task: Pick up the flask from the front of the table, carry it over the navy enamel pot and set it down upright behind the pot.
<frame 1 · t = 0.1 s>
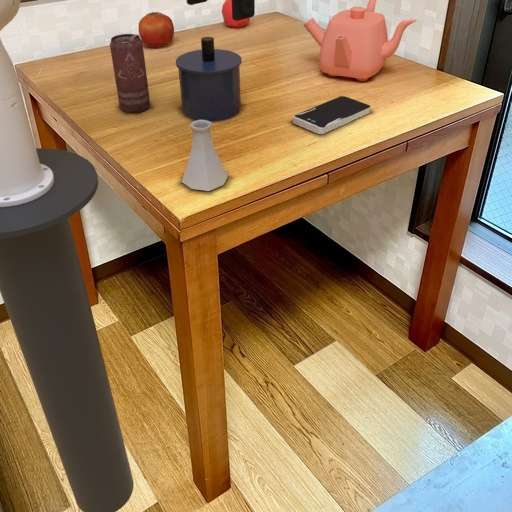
hand: (219, 10, 78), 28 cm above the table, tool pointing down, fingers open, 9 cm apart
tomato: (158, 45, 152), on the table
can: (135, 108, 121), on the table
teapot: (354, 71, 136), on the table
pot lid: (208, 62, 114), point 9 cm above the table, touching pot
pot: (211, 109, 120), on the table
smartphone: (331, 118, 116), on the table
flask: (205, 181, 98), on the table
apple: (236, 26, 164), on the table
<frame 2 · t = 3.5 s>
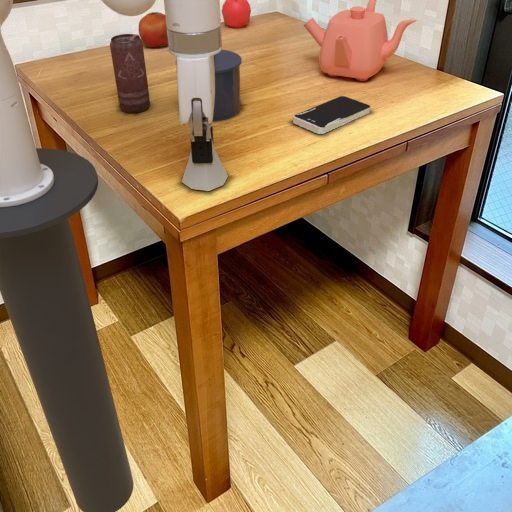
hand: (203, 155, 95), 5 cm above the table, tool pointing down, fingers closed on flask, 3 cm apart
flask: (205, 181, 98), on the table, touching gripper
everything else where it was.
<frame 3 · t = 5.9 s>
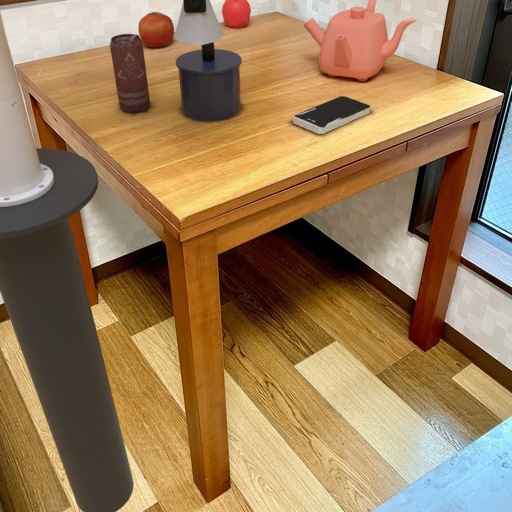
hand: (196, 6, 88), 25 cm above the table, tool pointing down, fingers closed on flask, 3 cm apart
flask: (199, 40, 91), point 20 cm above the table, touching gripper
everything else where it was.
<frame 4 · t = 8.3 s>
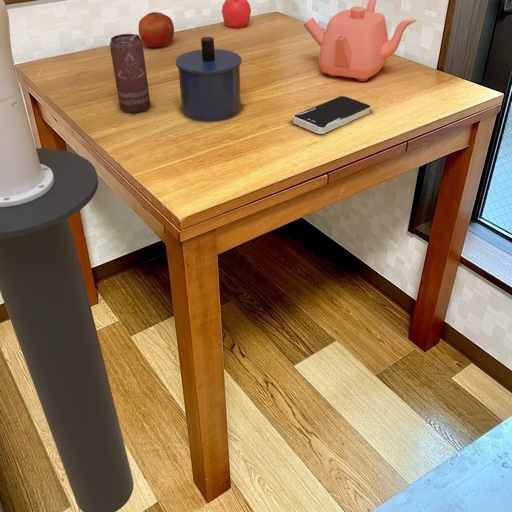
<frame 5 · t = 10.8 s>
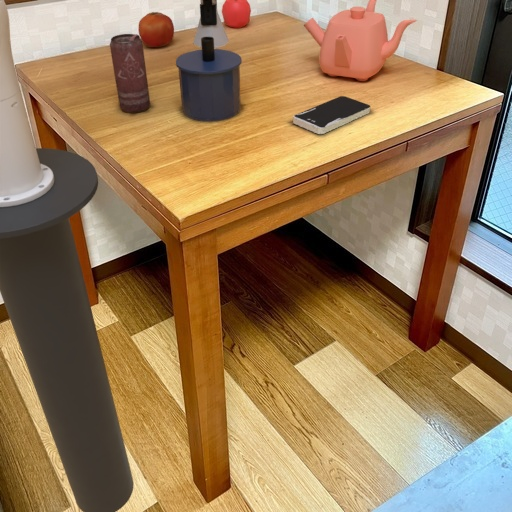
hand: (209, 21, 122), 14 cm above the table, tool pointing down, fingers closed on flask, 3 cm apart
flask: (211, 44, 125), point 9 cm above the table, touching gripper
everything else where it was.
when the fingers open (5 cm above the table, at t = 13.1 s): flask stays where it is, on the table.
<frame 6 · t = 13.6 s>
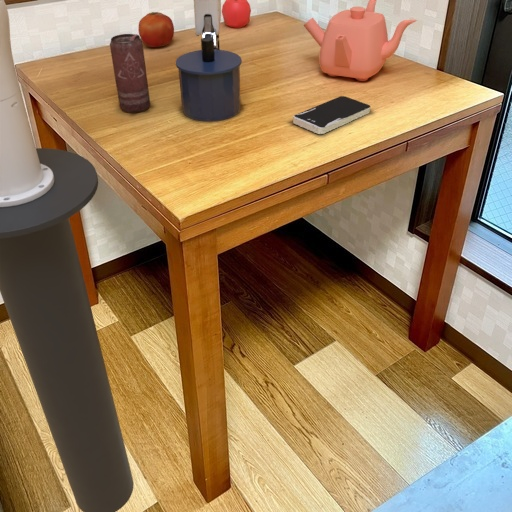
hand: (211, 60, 127), 6 cm above the table, tool pointing down, fingers open, 8 cm apart
pot lid: (208, 62, 114), point 10 cm above the table, touching gripper
flask: (213, 86, 130), on the table
everything else where it was.
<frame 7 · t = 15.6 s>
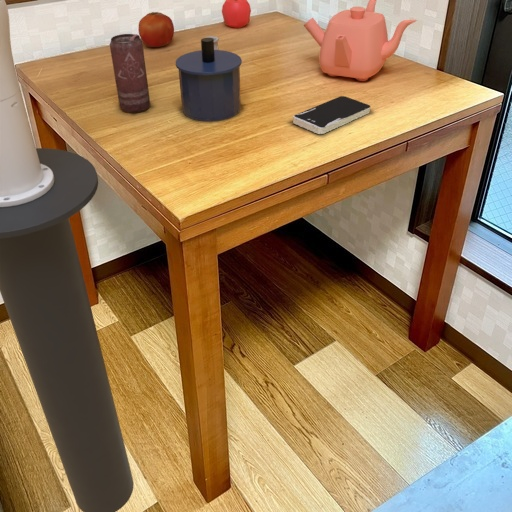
pot lid: (208, 63, 114), point 9 cm above the table, touching pot
everything else where it was.
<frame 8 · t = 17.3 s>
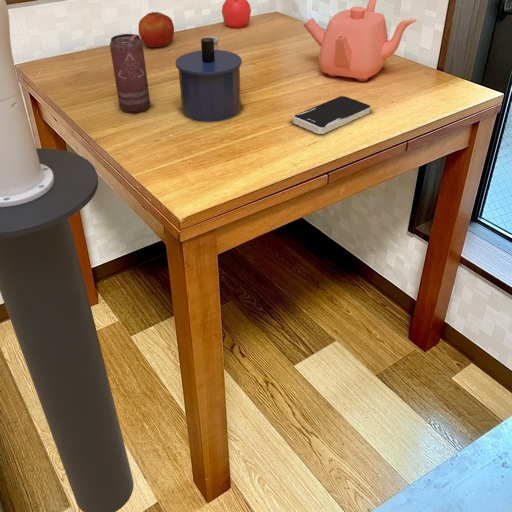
nothing on the table moved.
at the end: flask inside the target area on the table beside the pot (0.8 cm from its centre), on the table; flask tilted 0°; the gripper is holding nothing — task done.
